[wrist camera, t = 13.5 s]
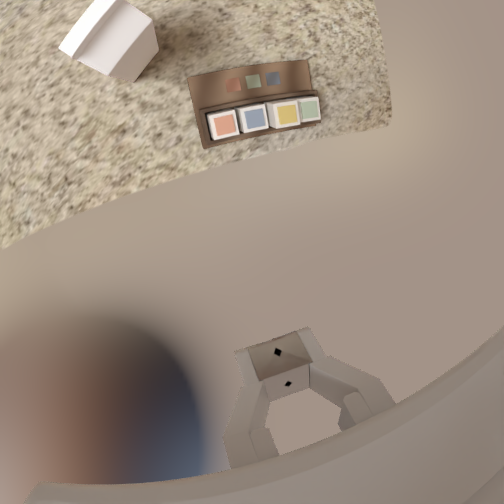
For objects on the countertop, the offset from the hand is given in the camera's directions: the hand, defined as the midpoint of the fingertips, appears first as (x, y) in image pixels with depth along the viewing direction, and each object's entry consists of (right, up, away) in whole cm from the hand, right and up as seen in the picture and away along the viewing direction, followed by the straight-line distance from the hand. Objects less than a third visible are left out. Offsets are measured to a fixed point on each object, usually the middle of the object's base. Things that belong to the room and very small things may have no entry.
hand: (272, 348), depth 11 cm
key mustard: (+3, +23, +27) cm, 36 cm away
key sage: (+6, +25, +29) cm, 39 cm away
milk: (-18, +31, +20) cm, 41 cm away
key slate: (-1, +23, +28) cm, 36 cm away
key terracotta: (-5, +22, +27) cm, 35 cm away
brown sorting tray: (-1, +26, +29) cm, 39 cm away
